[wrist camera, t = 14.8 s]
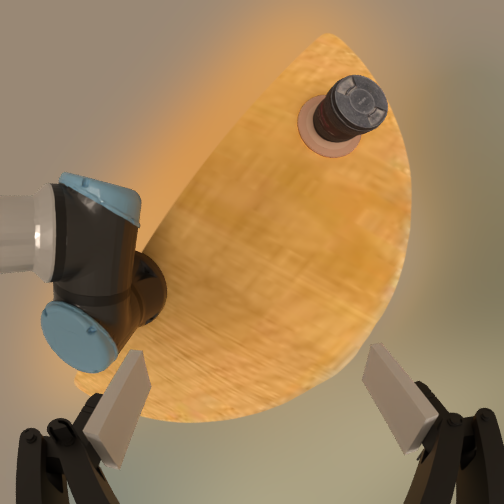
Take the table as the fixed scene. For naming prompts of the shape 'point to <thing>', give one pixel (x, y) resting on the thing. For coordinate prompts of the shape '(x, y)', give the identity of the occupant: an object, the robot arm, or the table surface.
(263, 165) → the table surface
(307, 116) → the plate
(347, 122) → the camera lens
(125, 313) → the robot arm
